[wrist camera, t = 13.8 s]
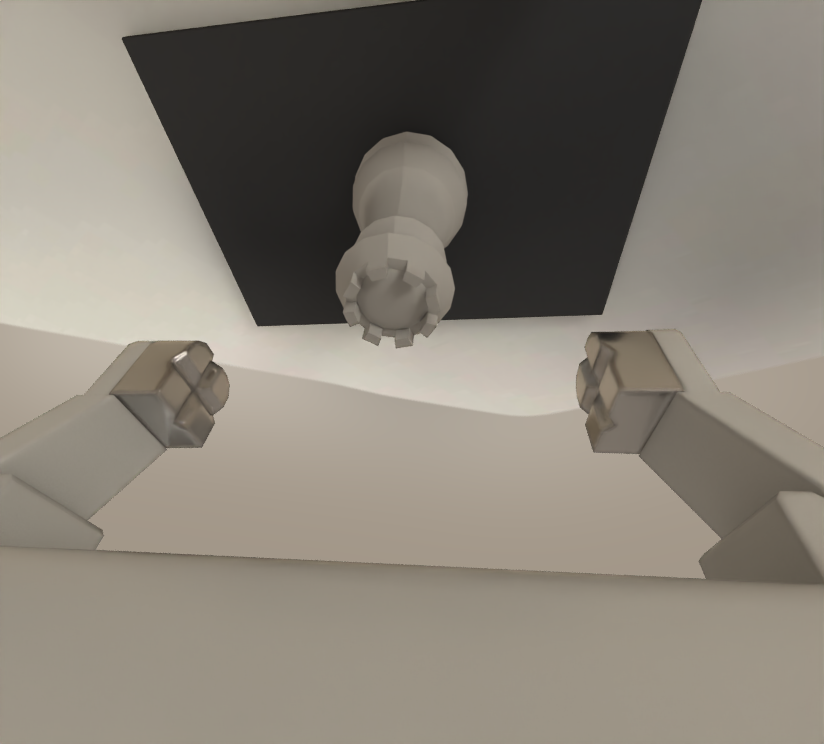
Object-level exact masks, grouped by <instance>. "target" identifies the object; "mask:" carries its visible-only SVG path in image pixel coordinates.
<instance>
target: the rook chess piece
mask: <svg viewBox="0 0 824 744" xmlns="http://www.w3.org/2000/svg"><path fill="white" fill-rule="evenodd" d="M467 197H468V191H467V185H466V179H465V172H464V170H463V168H462V166H461V165H460V163H459V162H458V160H457V158H456V157H455V155H454V153H453V152H452V150H451V149H449V148H448V147H446V146H445V145H443V144H442V143H441V142H439V141H438V140H436V139H435V138H433V137H432V136H429V135H423V134H417V133H411V132H403V133H400V134H396V135H393V136H390V137H386V138H383V139H382V140H381V141H379V142H378V143H377V144H376V145H375V146H374V147H373V148H372V149H370V150H369V151H368V152H367V153H366V154H365V155H364V158H363V160H362V162H361V164H360V167H359V169H358V171H357V173H356V176H355V182H354V184H353V212H354V215H355V217H356V220H357V223H358V225H359V228H360V231H361V233H360V235H359V237H358V239H357V241H356V243H355V245H354V246H353V247H351V248H350V249H349V250H347V251H346V252H345V253H344V255H343V257H342V259H341V261H340V263H339V265H338V268H337V270H336V293H337V295H338V297H339V299H340V301H341V303H342V305H343V308H344V310H343V314H344V316H345V318H346V320H347V322H348V324H349V326H350V327H351V326H354V325H356V324H360V325H361V326H363V327H364V328H365V329H364V333H363V337H362V339H364V340H366V341H369V342H371V343H373V344H375V345H377V346H378V345H379V343H380V340H381V336H388V337H395V346H396V348H401V347H408V346H413V338H414V335H416V334H419V333H421V334H423V335H424V336H425V337H427V338H428V336H429V335H430V334H431V333H432V331H433V330H434V329H435V328H436V327H437V324H438V323H439V322H440V320H441V319H442V318H443V317H444V315H445V314H446V313H447V312H448V310H449V309H450V307H451V303H452V299H453V295H454V291H455V286H454V282H453V277H452V273H451V268H450V267H449V266H448V264H447V263H446V262H447V260H446V256H445V251H444V248H445V247H447V246H448V245H449V243H450V242H451V241H452V239H453V238H454V236H455V235H456V233H457V232H458V231H459V229H460V228H461V226H462V223H463V219H464V214H465V210H466V206H467Z"/></svg>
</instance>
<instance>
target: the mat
mask: <svg viewBox="0 0 824 744" xmlns="http://www.w3.org/2000/svg"><path fill="white" fill-rule="evenodd" d="M701 2H702V0H417V1H409V2H401V3H393V4H385V5H376V6H368V7H360V8H352V9H344V10H336V11H328V12H320V13H312V14H304V15H296V16H287V17H279V18H271V19H263V20H255V21H247V22H239V23H231V24H223V25H215V26H207V27H198V28H190V29H182V30H174V31H166V32H158V33H150V34H142V35H134V36H127V37H123V38H122V40H123V43H124V45H125V47H126V49H127V51H128V53H129V55H130V57H131V60H132V62H133V64H134V66H135V68H136V70H137V72H138V74H139V76H140V79H141V81H142V83H143V85H144V87H145V89H146V91H147V93H148V96H149V98H150V100H151V102H152V104H153V106H154V108H155V110H156V112H157V115H158V117H159V119H160V121H161V123H162V125H163V127H164V129H165V132H166V134H167V136H168V138H169V140H170V142H171V144H172V146H173V148H174V151H175V153H176V155H177V157H178V159H179V161H180V163H181V165H182V168H183V170H184V172H185V174H186V176H187V178H188V180H189V182H190V184H191V187H192V189H193V191H194V193H195V195H196V197H197V199H198V201H199V204H200V206H201V208H202V210H203V212H204V214H205V216H206V218H207V220H208V223H209V225H210V227H211V229H212V231H213V233H214V235H215V237H216V240H217V242H218V244H219V246H220V248H221V250H222V252H223V254H224V256H225V259H226V261H227V263H228V265H229V267H230V269H231V271H232V273H233V276H234V278H235V280H236V282H237V284H238V286H239V288H240V290H241V292H242V295H243V297H244V299H245V301H246V303H247V305H248V307H249V309H250V312H251V314H252V316H253V318H254V320H255V322H256V324H257V326H279V325H309V324H339V323H348V322H347V320H346V318H345V316H344V314H343V310H344V308H343V305H342V303H341V301H340V299H339V297H338V295H337V293H336V270H337V268H338V265H339V263H340V261H341V259H342V257H343V255H344V253H345V252H346V251H347V250H349V249H350V248H351V247H353V246H354V245H355V243H356V241H357V239H358V237H359V235H360V233H361V231H360V228H359V225H358V223H357V220H356V217H355V215H354V212H353V184H354V182H355V176H356V173H357V171H358V169H359V167H360V164H361V162H362V160H363V158H364V155H365V154H366V153H367V152H368V151H369V150H370V149H372V148H373V147H374V146H375V145H376V144H377V143H378V142H379V141H381V140H382V139H383V138H386V137H390V136H393V135H396V134H400V133H403V132H411V133H417V134H423V135H429V136H432V137H433V138H435V139H436V140H438V141H439V142H441V143H442V144H443V145H445V146H446V147H448V148H449V149H451V150H452V152H453V153H454V155H455V157H456V158H457V160H458V162H459V163H460V165H461V166H462V168H463V170H464V172H465V179H466V185H467V191H468V197H467V206H466V210H465V214H464V219H463V223H462V226H461V228H460V229H459V231H458V232H457V233H456V235H455V236H454V238H453V239H452V241H451V242H450V243H449V245H448V246H447V247H445V248H444V251H445V256H446V260H447V262H446V263H447V264H448V266H449V267H450V268H451V273H452V277H453V282H454V286H455V291H454V295H453V299H452V303H451V307H450V309H449V310H448V312H447V313H446V314H445V315H444V317H443V318H442V319H441V320H459V319H488V318H518V317H548V316H578V315H602V314H603V310H604V307H605V304H606V301H607V298H608V295H609V292H610V288H611V285H612V282H613V279H614V276H615V273H616V270H617V266H618V263H619V260H620V257H621V254H622V251H623V248H624V244H625V241H626V238H627V235H628V232H629V229H630V226H631V222H632V219H633V216H634V213H635V210H636V207H637V204H638V200H639V197H640V194H641V191H642V188H643V185H644V181H645V178H646V175H647V172H648V169H649V166H650V163H651V159H652V156H653V153H654V150H655V147H656V144H657V141H658V137H659V134H660V131H661V128H662V125H663V122H664V119H665V115H666V112H667V109H668V106H669V103H670V100H671V97H672V93H673V90H674V87H675V84H676V81H677V78H678V75H679V71H680V68H681V65H682V62H683V59H684V56H685V53H686V49H687V46H688V43H689V40H690V37H691V34H692V31H693V27H694V24H695V21H696V18H697V15H698V12H699V9H700V5H701Z"/></svg>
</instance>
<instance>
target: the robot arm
mask: <svg viewBox="0 0 824 744" xmlns="http://www.w3.org/2000/svg"><path fill="white" fill-rule="evenodd" d="M584 348H585V351H586V354H587V356H588V357H587V358H586V359H585V360H583V361H582V362H581V363H580V364H579V367H578V371H577V375H576V392H577V399H578V402H579V406H580V408H581V409H583V410H584V411H585V412H586V413H587V414H589V415H588V418H587V421H586V424H585V426H586V429H587V433H588V436H589V439H590V443H591V446H592V449H593V452H598V453H626V454H640V455H639V457H640V458H641V459H642V460H643V461H644V462H645V463H646V464H647V465H648V466H649V467H650V468H651V469H652V470H653V471H654V472H655V473H656V474H657V475H658V476H659V477H660V478H661V479H662V480H663V481H664V482H665V483H666V484H667V485H668V486H669V487H670V488H671V489H672V490H673V491H674V492H675V493H676V494H677V495H678V496H679V497H680V498H681V499H682V500H683V501H685V503H686V504H687V505H688V506H689V507H690V508H691V509H692V510H693V511H695V513H697V515H698V516H699V517H700V518H701V519H702V520H703V521H704V522H705V523H706V524H707V525H708V526H709V527H710V528H711V529H712V530H713V531H714V532H715V533H716V534H718V536H719V537H720V538H721V540H720V541H719V542H718V543H716V544H715V545H714V546H713V547H712V548H710V549H709V550H708V551H707V552H706V553H704V555H703V556H702V557H701V558H700V560H699V563H700V565H701V568H702V570H703V573H704V575H705V578H706V579H698V578H697V579H696V578H677V577H656V576H635V575H612V574H592V573H570V572H550V571H528V570H508V569H487V568H466V567H465V568H464V567H445V566H424V565H403V564H401V565H400V564H382V563H361V562H339V561H318V560H297V559H275V558H256V557H234V556H213V555H191V554H170V553H169V554H168V553H150V552H128V551H106V550H95V549H96V548H97V546H98V544H99V543H100V541H101V539H102V538H103V536H104V535H103V530H102V529H100V528H98V527H97V526H95V525H94V524H92V523H90V522H89V521H87V520H88V519H90V518H91V517H92V516H93V515H94V514H95V513H96V512H97V511H99V510H100V509H101V508H102V507H103V506H104V505H105V504H107V503H108V502H109V501H110V500H111V499H112V498H113V497H114V496H116V495H117V494H118V493H119V492H120V491H121V490H122V489H123V488H124V487H126V486H127V485H128V484H129V483H130V482H131V481H132V480H134V479H135V478H136V477H137V476H138V475H139V474H140V473H141V472H142V471H144V470H145V469H146V468H147V467H148V466H149V465H150V464H152V463H153V462H154V461H155V460H156V459H157V458H158V457H159V456H161V455H162V454H163V453H164V452H165V451H166V450H167V449H166V448H194V447H195V448H198V447H202V446H203V444H204V443H205V441H206V439H207V437H208V435H209V433H210V431H211V430H212V428H213V426H214V424H215V421H214V418H213V415H214V414H215V413H217V412H218V411H219V410H220V409H221V408H223V407H224V405H225V403H226V401H227V399H228V396H229V387H230V384H229V381H228V377H227V375H226V373H225V372H224V370H223V368H222V367H220V366H219V365H217V364H215V363H214V362H212V359H213V355H214V354H213V352H212V351H211V349H210V348H209V346H208V345H207V343H204V342H201V341H137V342H134V343H131V344H129V345H128V346H127V347H126V348H125V349H124V350H123V351H122V353H121V354H120V355H119V356H118V357H117V358H116V359H115V360H114V361H113V363H112V364H111V365H110V366H109V367H108V368H107V369H106V371H105V372H104V373H103V374H102V375H101V376H100V377H99V378H98V379H97V381H96V382H95V383H94V384H93V385H92V386H91V387H90V389H88V391H87V392H86V393H85V394H84V395H76V396H74V397H73V398H71V399H69V400H67V401H66V402H64V403H62V404H60V405H58V406H57V407H55V408H53V409H51V410H49V411H48V412H46V413H44V414H42V415H40V416H39V417H37V418H35V419H33V420H32V421H30V422H28V423H26V424H24V425H23V426H21V427H19V428H17V429H16V430H14V431H12V432H10V433H8V434H7V435H5V436H3V437H1V438H0V744H824V447H822V446H820V445H819V444H817V443H815V442H814V441H812V440H810V439H808V438H807V437H805V436H803V435H802V434H800V433H798V432H797V431H795V430H793V429H792V428H790V427H788V426H787V425H784V424H783V423H781V422H780V421H778V420H776V419H775V418H773V417H771V416H770V415H768V414H766V413H764V412H763V411H761V410H759V409H758V408H756V407H754V406H753V405H751V404H749V403H747V402H746V401H744V400H742V399H741V398H739V397H737V396H736V395H734V394H732V393H730V392H720V391H719V389H718V388H717V386H716V385H715V383H714V382H713V380H712V379H711V377H710V376H709V374H708V373H707V371H706V369H705V368H704V366H703V365H702V363H701V362H700V360H699V359H698V357H697V356H696V354H695V353H694V351H693V350H692V348H691V347H690V345H689V344H688V342H687V340H686V339H685V337H684V336H683V334H682V333H681V332H680V331H678V330H676V329H660V330H646V331H615V332H591V334H590V335H589V336H588V338H587V341H586V344H585V347H584Z"/></svg>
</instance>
